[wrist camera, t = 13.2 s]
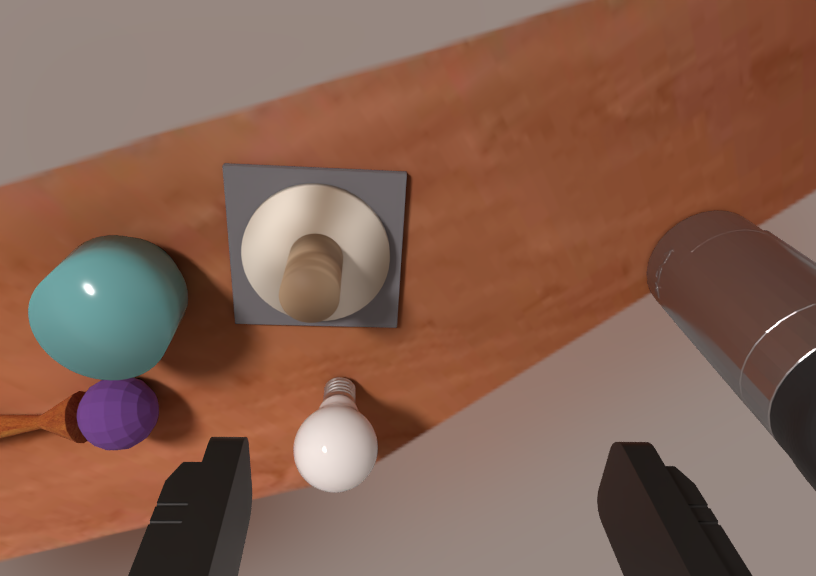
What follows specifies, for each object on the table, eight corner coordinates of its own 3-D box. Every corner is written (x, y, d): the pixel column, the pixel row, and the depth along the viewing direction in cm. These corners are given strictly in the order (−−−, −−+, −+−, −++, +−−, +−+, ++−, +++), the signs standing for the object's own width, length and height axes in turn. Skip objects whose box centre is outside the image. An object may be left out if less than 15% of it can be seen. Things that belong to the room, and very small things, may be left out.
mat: (406, 171, 44) (406, 174, 44) (396, 323, 50) (396, 327, 50) (224, 163, 43) (222, 165, 43) (236, 319, 49) (235, 323, 49)
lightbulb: (300, 356, 51) (284, 448, 42) (375, 353, 52) (376, 443, 42) (306, 415, 54) (293, 513, 45) (377, 412, 55) (379, 508, 45)
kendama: (-116, 422, 48) (124, 393, 46) (-57, 387, 53) (159, 359, 51) (-86, 486, 49) (147, 461, 47) (-32, 445, 55) (178, 421, 53)
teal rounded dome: (188, 226, 45) (160, 268, 39) (200, 329, 50) (176, 381, 43) (62, 222, 45) (13, 263, 38) (85, 326, 49) (44, 379, 43)
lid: (393, 186, 44) (397, 222, 38) (386, 316, 49) (388, 367, 43) (238, 179, 43) (217, 215, 37) (248, 313, 48) (230, 363, 42)
